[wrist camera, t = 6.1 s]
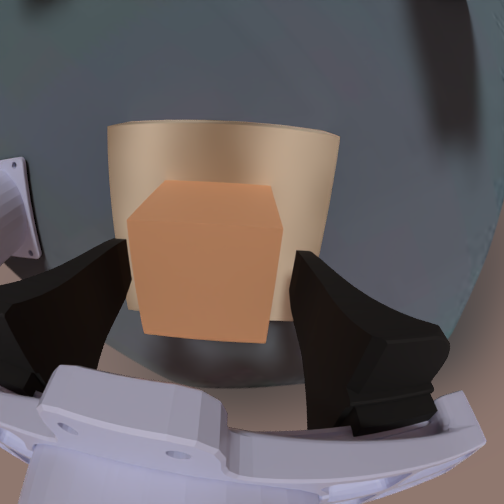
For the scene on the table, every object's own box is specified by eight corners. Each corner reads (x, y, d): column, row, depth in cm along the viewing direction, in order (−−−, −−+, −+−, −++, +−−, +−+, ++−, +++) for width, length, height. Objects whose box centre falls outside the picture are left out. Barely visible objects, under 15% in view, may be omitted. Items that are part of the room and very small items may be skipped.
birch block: (143, 278, 20) (128, 309, 17) (133, 121, 15) (107, 126, 11) (295, 288, 20) (303, 321, 17) (321, 130, 15) (340, 136, 12)
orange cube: (168, 269, 15) (144, 333, 11) (165, 180, 13) (126, 219, 9) (260, 276, 16) (265, 343, 11) (270, 185, 13) (283, 228, 9)
